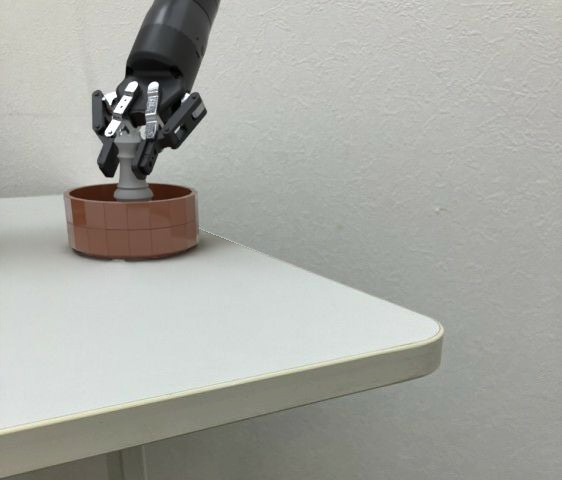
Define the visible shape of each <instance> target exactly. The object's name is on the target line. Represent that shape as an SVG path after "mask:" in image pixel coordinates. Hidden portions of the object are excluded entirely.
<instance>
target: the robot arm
mask: <svg viewBox="0 0 562 480" xmlns="http://www.w3.org/2000/svg"><path fill="white" fill-rule="evenodd" d="M220 6H221V0H153V2H152V4H151V6H150V7H149V9H148V10H147V13H146V14H145V15H144V17H143V21H142V22H141V25H140V27H139V30H138V33H137V35H136V37H135V39H134V42H133V44H132V47H131V50H130V52H129V54H128V57H127V59H126V62H125V71H124V72H125V73H124V74H125V75H124V78H123V80H122V81H121V82H120V83H119V84H118V85H117V86H116V88H115V90H114V91H111V92H109V93H106V94H104V93H103V91H102V90H101V89H96V90H94V91H93V92H92V93H91V128H92V130H93V132H94V133H95V135H96V137H97V138H98V139H99V141H100V142H101V143H102V146H101V149H100V152H99V153H98V156H97V159H96V164H97V167H98V169H99V171H100V172H101V173H102V175H103V176H104V177H105V178H108V179H113V178H115V175H116V173H117V170H118V168H119V166H120V162H119V158H118V157H117V155H118V154H119V149H118V147H117V146H116V144H115V143H114V140H115V138H116V136H117V134H116V131H120V132H121V131H126V132H127V134H130V131H135V132H136V131H141V128H142V127H144V126H145V129H144V138H145V139H144V138H143V139H141V141H140V143H139V146H138V149H137V151H136V154H135V156H134V159H133V162H132V164H131V170H132V172H133V174H134V175H135V177H136V178H137V179H138V180H145V179H146V180H147V177H148V176H150V175H151V174H152V173H153V170H154V167H155V164H156V162H157V159H158V157H159V155H160V154H161V153H162V152H164V150H165V149H168V148H170V150H173V151H174V150H175V151H176V150H178V149H179V148H180V147H181V146H182V145H183V143H184V142H185V141H186V139H188V137H189V136H190V135H191V134H192V132H193V131H194V130H195V129H196V128H197V127H198V125H199V124H200V123H201V122H202V120H203V119H204V118H205V117H206V116H207V114H208V110H207V108H206V105H205V103H204V100H203V99H202V96H201V94H200V93H199V92H198V91H194V92H192V90H193V87H194V85H195V81H196V80H197V76H198V74H199V71H200V68H201V66H202V62H203V59H204V57H205V54H206V51H207V48H208V45H209V40H210V39H209V38H210V34H211V31H212V28H213V26H214V23H215V20H216V17H217V15H218V14H219V13H218V12H219V10H220ZM177 129H178V130H177ZM121 135H122V133H121Z"/></svg>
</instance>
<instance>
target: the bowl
mask: <svg viewBox="0 0 562 480" xmlns="http://www.w3.org/2000/svg"><path fill="white" fill-rule="evenodd" d="M118 183H119V182H109V183H96V184H89V185H81V186H77V187H73V188H69V189H67V190H65V191H63V205H64V211H65V212H64V213H65V220H66V221H65V222H66V230H67V238H68V246H69V247H70V248H72V249H73V250H75V251H78V252H81V253H83V254H84V255H87V256H89V257H95V258H99V259H108V260H124V261H125V260H127V261H128V260H148V259H149V260H150V259H158V258H164V257H170V256H174V255H178V254H180V253H183V252H185V251H187V250H188V249H190V248H192V247H194V246H196V245H197V244H198V243H199V241H200V218H199V217H200V216H199V192H198V190H197V189H195V188H193V187H190V186H186V185H183V184H175V183H164V182H147V184H148V185H149V187H148V188H149V189H150V190H151V191H152V193H153V197H152V199H151V200H152V201H143V202H116V201H117V200H116V199H115V198H114V192H115V191H116V190H117V185H118Z"/></svg>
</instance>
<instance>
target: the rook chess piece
mask: <svg viewBox="0 0 562 480" xmlns="http://www.w3.org/2000/svg"><path fill="white" fill-rule="evenodd" d="M121 133H122V135H121ZM116 134H117V136H116V138H115V140H114V143H115V144H116V146H117V147H118V149H119V154H118V155H117V157H118V158H119V176H118V182H117V183H118V185H117V190H116V191H115V192H114V198H115V199H116V200H117V201H116V202H143V201H152V200H151V199H152V197H153V193H152V191H151V190H150V189H149V188H148V187H149V185H148V184H147V183H148V182H147V178H146V179H145V180H138V179H137V178H136V177H135V175H134V174H133V172H132V170H131V164H132V162H133V159H134V156H135V154H136V151H137V149H138V146H139V143H140V141H141V139H144V138H143V136H142V133H141V130H139V131H136V132H135V131H130V134H127V132H126V131H121V130H119V131H116Z"/></svg>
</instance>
